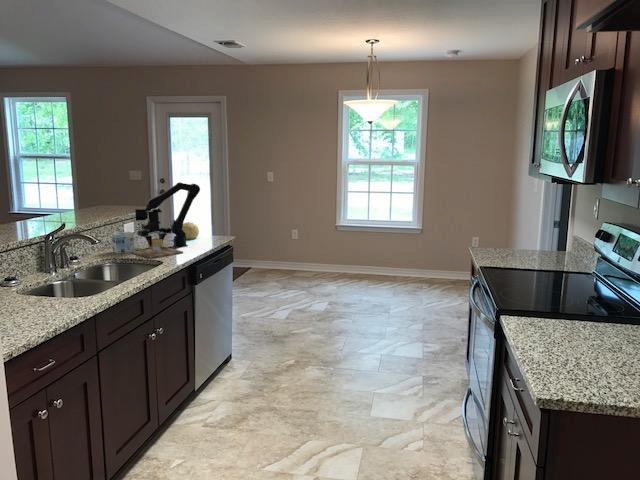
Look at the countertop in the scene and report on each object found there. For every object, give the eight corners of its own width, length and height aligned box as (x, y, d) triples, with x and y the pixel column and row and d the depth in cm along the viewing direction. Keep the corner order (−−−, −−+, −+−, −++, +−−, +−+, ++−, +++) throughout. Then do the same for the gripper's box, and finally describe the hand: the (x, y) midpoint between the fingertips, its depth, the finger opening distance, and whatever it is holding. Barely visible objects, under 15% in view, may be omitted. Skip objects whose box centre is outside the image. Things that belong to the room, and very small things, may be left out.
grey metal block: (155, 252, 285) (154, 246, 284) (161, 252, 285) (160, 246, 284) (153, 253, 281) (152, 247, 281) (159, 253, 281) (159, 247, 281)
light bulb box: (116, 253, 285) (115, 234, 283) (112, 251, 290) (111, 233, 288) (135, 251, 292) (134, 232, 290) (131, 249, 297) (130, 231, 295)
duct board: (164, 248, 300) (164, 246, 300) (183, 253, 287) (183, 251, 287) (132, 253, 286) (132, 251, 286) (150, 258, 273) (150, 257, 273)
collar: (157, 246, 306) (157, 238, 305) (162, 247, 302) (162, 239, 301) (148, 247, 302) (147, 239, 301) (153, 249, 298) (153, 240, 297)
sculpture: (176, 239, 328) (176, 223, 326) (186, 236, 339) (186, 220, 337) (192, 240, 325) (191, 223, 323) (202, 237, 336) (201, 221, 334)
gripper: (161, 217, 311) (162, 242, 314) (132, 220, 297) (133, 246, 300) (171, 218, 303) (172, 244, 306) (141, 222, 290) (143, 249, 293)
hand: (155, 246), depth 302 cm, fingers closed on collar, 6 cm apart
